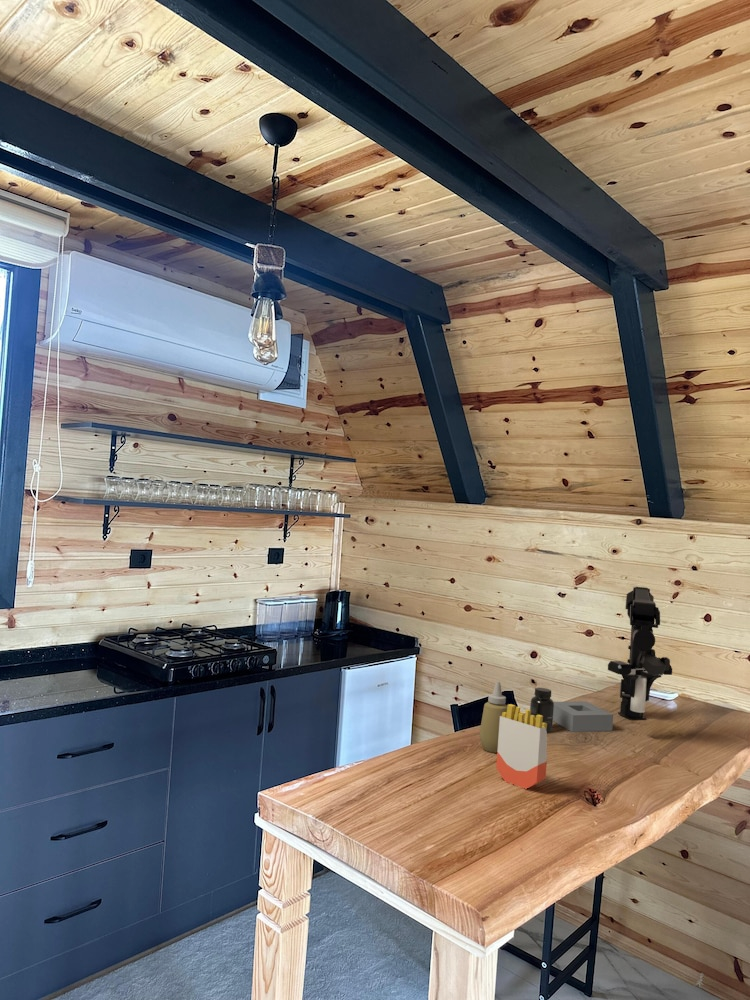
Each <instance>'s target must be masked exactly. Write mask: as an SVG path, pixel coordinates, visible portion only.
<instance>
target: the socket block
mask: <svg viewBox="0 0 750 1000" xmlns="http://www.w3.org/2000/svg"><path fill="white" fill-rule="evenodd" d="M553 702H554V710H553V722H554V723H556V724H557V725H560V726H561V727H563V728H564V729H567V730H568V731H569V732H570V733H585V732H586V733H589V732H591V733H592V732H593V733H594V732H613V727H614V725H613V724H614V714H613V713H611V712H608V711H607V710H604V709H602V708H601V707H598V706H597V705H594V704H593V703H591V702H588V701H580V700H579V701H553Z"/></svg>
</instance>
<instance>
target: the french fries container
mask: <svg viewBox="0 0 750 1000" xmlns="http://www.w3.org/2000/svg"><path fill="white" fill-rule="evenodd" d="M506 705H507V713H506V712H503V713H502V715H501V716H500V722H499V736H498V751H497V753H496V765H495V767H496V770H497V771H498V773H499V774H500V776H501V777H502V780H503V781H504V782H505V781H506V782H505V783H507V782H508V783H507V784H510V783H512V784H514V785H513V786H515V785H517V786H520V787H522V788H521V789H523V788H525V789H526V790H527V788H528V789H529V788H532V787H534V786H536V785H538V784H539V783H541V782H542V781H544V780H546V777H547V766H548V765H547V764H548V758H547V757H548V754H547V753H548V748H547V747H548V746H547V743H548V739H547V737H548V733H547V731H546V729H547V723H542V720H543V716H542V715H536V718H535V716H534V715H531V716H530V714H531V710H530V708H529V709H527V708H526V709H525V713H524V712H523V711H521V707H520V706H516V705H515V704H512V703H510V704H509V703H508V704H506ZM512 784H511V785H512ZM517 786H516V787H517ZM520 787H519V788H520ZM525 789H524V790H525Z"/></svg>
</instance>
